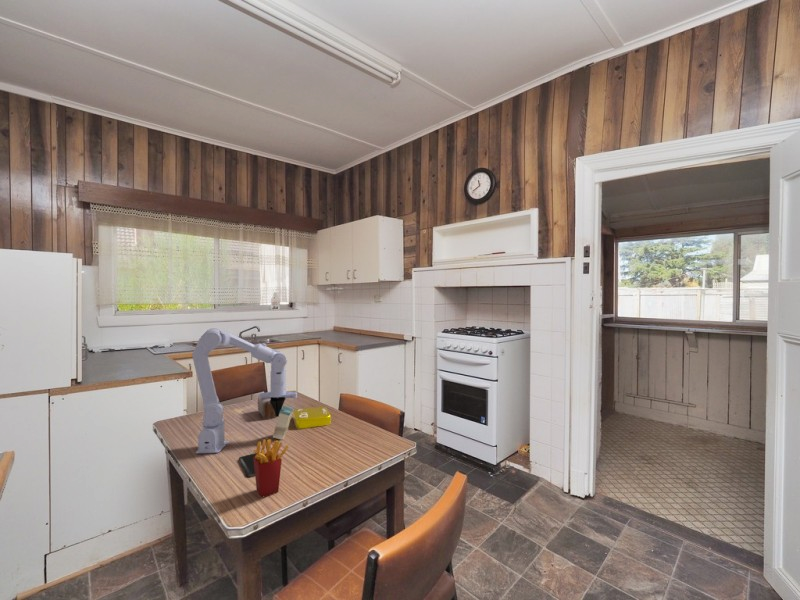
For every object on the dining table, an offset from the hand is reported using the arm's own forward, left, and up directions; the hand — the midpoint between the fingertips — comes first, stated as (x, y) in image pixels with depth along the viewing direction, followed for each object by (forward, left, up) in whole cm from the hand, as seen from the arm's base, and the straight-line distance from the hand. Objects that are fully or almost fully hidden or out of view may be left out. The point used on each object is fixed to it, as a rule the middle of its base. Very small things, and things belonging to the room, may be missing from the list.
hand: (278, 415), depth 140 cm
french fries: (-38, -8, -9) cm, 40 cm away
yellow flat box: (+17, -11, -9) cm, 22 cm away
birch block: (0, -1, -8) cm, 8 cm away
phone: (-23, +1, -9) cm, 25 cm away
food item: (+27, +12, -9) cm, 30 cm away
